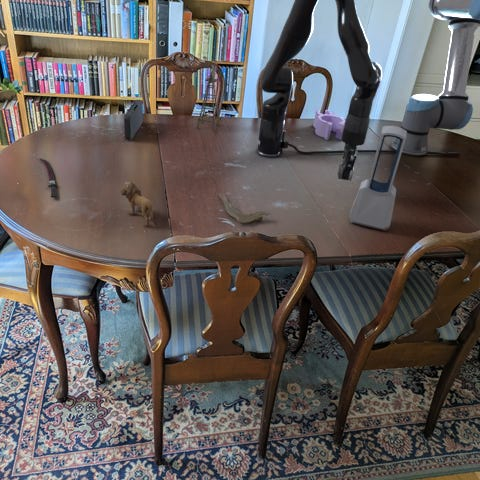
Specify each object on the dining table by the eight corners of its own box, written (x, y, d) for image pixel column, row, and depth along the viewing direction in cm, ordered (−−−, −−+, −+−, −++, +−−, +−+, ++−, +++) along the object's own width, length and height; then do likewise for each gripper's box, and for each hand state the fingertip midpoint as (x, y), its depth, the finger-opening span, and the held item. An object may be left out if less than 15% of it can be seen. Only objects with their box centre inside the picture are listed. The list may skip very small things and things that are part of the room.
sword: (61, 197, 141) (61, 193, 140) (50, 198, 139) (50, 194, 139) (49, 160, 164) (48, 156, 163) (39, 160, 163) (39, 157, 162)
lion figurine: (118, 210, 138) (116, 182, 133) (132, 204, 141) (131, 177, 137) (151, 229, 130) (150, 201, 126) (165, 223, 134) (165, 195, 129)
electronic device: (389, 222, 147) (418, 130, 131) (388, 233, 141) (417, 138, 125) (350, 212, 150) (373, 122, 134) (347, 223, 144) (370, 129, 127)
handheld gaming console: (136, 121, 202) (136, 98, 197) (143, 121, 202) (142, 98, 197) (123, 140, 183) (122, 115, 178) (130, 141, 183) (130, 116, 178)
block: (337, 174, 162) (340, 162, 159) (350, 175, 161) (352, 164, 159) (338, 179, 158) (340, 167, 156) (351, 180, 158) (354, 169, 156)
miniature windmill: (214, 131, 201) (219, 58, 184) (195, 128, 202) (199, 55, 185) (219, 124, 208) (224, 54, 192) (201, 122, 209) (205, 51, 193)
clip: (307, 123, 221) (309, 109, 217) (331, 124, 223) (334, 110, 219) (321, 139, 204) (324, 124, 201) (347, 140, 207) (350, 125, 203)
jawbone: (251, 231, 136) (251, 225, 134) (200, 206, 146) (200, 200, 145) (270, 218, 141) (270, 213, 140) (219, 195, 152) (219, 189, 150)
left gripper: (342, 119, 156) (332, 166, 166) (345, 133, 144) (334, 183, 154) (365, 122, 156) (353, 169, 165) (369, 136, 144) (357, 186, 153)
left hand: (344, 176), depth 159 cm, fingers closed on block, 4 cm apart
